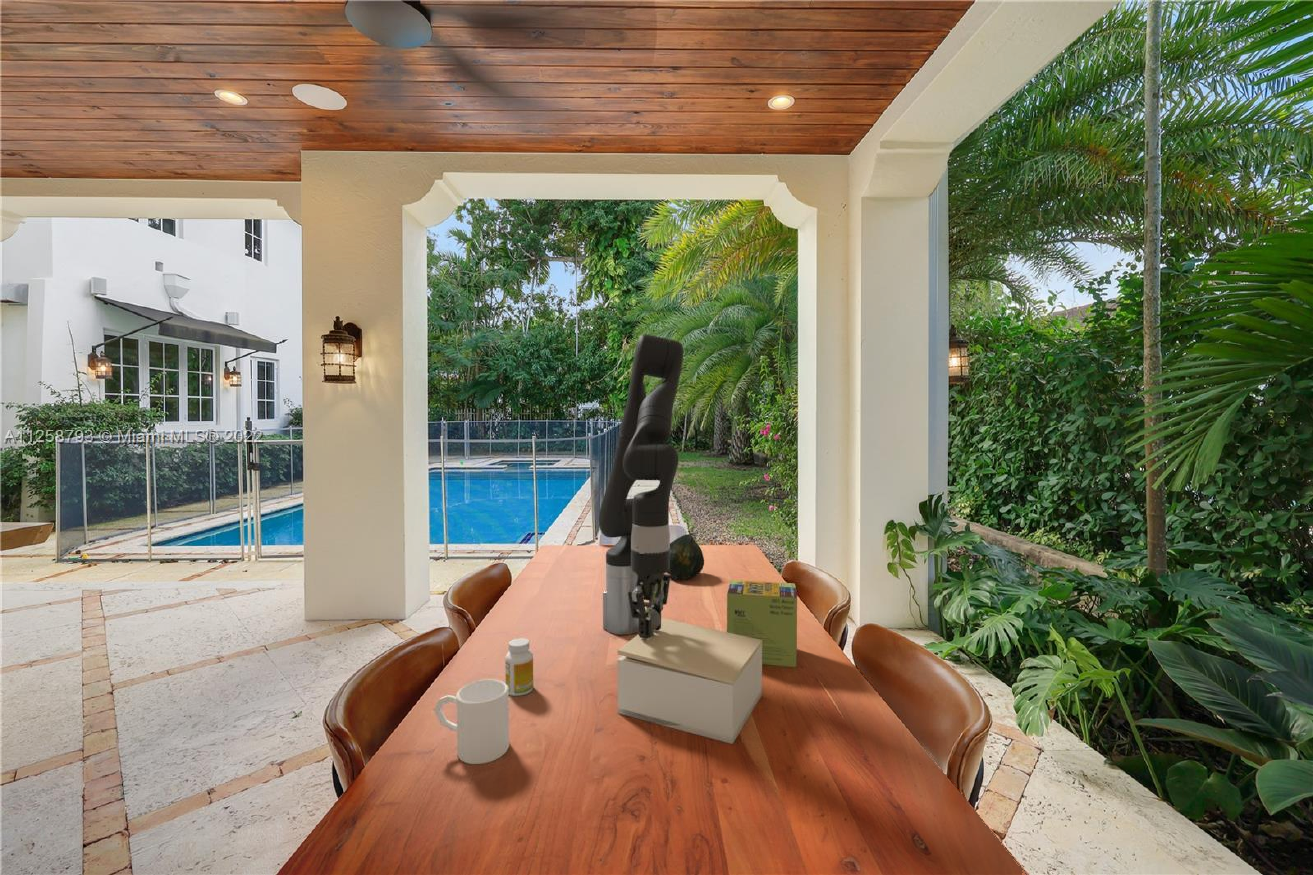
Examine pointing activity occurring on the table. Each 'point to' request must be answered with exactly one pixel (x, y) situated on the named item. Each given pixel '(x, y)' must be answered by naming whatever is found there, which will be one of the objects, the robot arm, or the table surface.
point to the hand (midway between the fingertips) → (650, 632)
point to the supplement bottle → (519, 667)
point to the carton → (689, 697)
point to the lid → (693, 649)
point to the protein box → (765, 618)
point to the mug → (479, 720)
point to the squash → (685, 558)
